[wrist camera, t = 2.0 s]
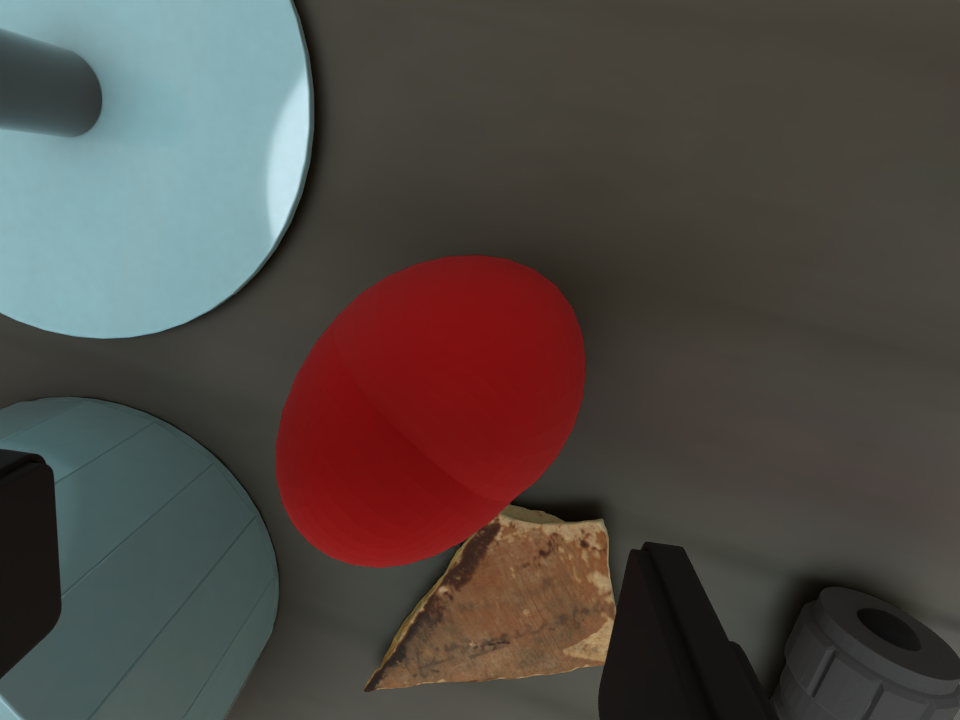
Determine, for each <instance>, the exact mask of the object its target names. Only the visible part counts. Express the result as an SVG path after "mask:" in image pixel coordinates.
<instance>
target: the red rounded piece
mask: <svg viewBox="0 0 960 720" xmlns="http://www.w3.org/2000/svg"><path fill="white" fill-rule="evenodd" d="M585 372H586V359H585V351H584V343H583V336H582V332H581V329H580V327H579V324H578V321H577V319H576V316H575V313H574V311H573V308H572V307H571V305H570V304H569V302H568V301H567V300H566V298H565V297H564V296H563V294H562V293H561V292H560V290H559V289H558V287H557V286H556V285H555V284H553V283H552V282H551V281H549V280H548V279H547V278H545V277H544V276H542V275H541V274H540V273H538V272H537V271H536V270H534V269H532V268H529V267H527V266H524V265H522V264H519V263H517V262H514V261H511V260H509V259H503V258H497V257H490V256H483V255H466V256H448V257H443V258H439V259H435V260H431V261H426V262H422V263H418V264H415V265H413V266H411V267H408V268H406V269H403V270H401V271H399V272H396V273H394V274H392V275H389V276H387V277H386V278H384V279H382V280H381V281H379V282H378V283H376V284H375V285H373V286H372V287H370V288H368V289H367V290H365V291H364V292H362V293H361V294H360V295H359V296H358V297H357V298H356V299H355V300H354V301H352V302H351V303H350V304H349V305H348V306H347V307H346V308H345V309H344V310H343V311H342V312H341V313H340V314H339V315H338V316H337V317H336V319H335V320H334V321H333V322H332V323H331V325H330V326H329V327H328V328H327V329H326V331H325V332H324V333H323V334H322V336H321V337H320V338H319V339H318V340H317V342H316V343H315V345H314V346H313V348H312V350H311V351H310V353H309V355H308V356H307V358H306V360H305V362H304V363H303V365H302V367H301V368H300V370H299V372H298V374H297V375H296V377H295V380H294V383H293V385H292V388H291V390H290V393H289V396H288V398H287V401H286V403H285V406H284V408H283V411H282V416H281V421H280V426H279V431H278V436H277V441H276V478H277V483H278V487H279V491H280V495H281V500H282V504H283V506H284V508H285V510H286V512H287V514H288V515H289V517H290V519H291V521H292V523H293V525H294V526H295V527H296V529H297V530H298V531H299V532H300V533H301V534H302V535H303V536H304V537H305V539H306V540H307V541H308V542H309V543H310V544H311V545H313V546H314V547H316V548H317V549H319V550H320V551H322V552H323V553H325V554H327V555H328V556H330V557H332V558H335V559H338V560H341V561H343V562H346V563H349V564H352V565H359V566H368V567H377V568H380V567H390V566H400V565H407V564H410V563H413V562H416V561H419V560H423V559H426V558H429V557H432V556H435V555H437V554H439V553H441V552H443V551H445V550H447V549H449V548H451V547H453V546H455V545H457V544H459V543H461V542H463V541H464V540H466V539H467V538H468V537H470V536H471V535H473V534H474V533H475V532H477V531H478V530H480V529H481V528H482V527H484V526H485V525H487V524H488V523H489V522H491V521H492V520H493V519H494V518H495V517H496V516H497V515H498V514H499V513H500V512H501V511H502V510H503V509H504V508H505V507H507V506H508V505H509V504H510V503H511V502H512V501H513V500H514V499H515V498H516V497H517V496H518V495H519V494H521V493H522V492H523V491H524V490H526V489H527V488H528V487H530V486H531V485H532V484H533V483H535V482H536V481H537V480H538V479H539V478H540V477H541V475H542V474H543V473H544V472H545V471H546V469H547V468H548V467H549V466H550V465H551V464H552V462H553V461H554V460H555V459H556V457H557V456H558V455H559V453H560V451H561V449H562V447H563V446H564V444H565V442H566V440H567V438H568V437H569V435H570V433H571V431H572V429H573V427H574V424H575V421H576V418H577V415H578V412H579V408H580V405H581V402H582V399H583V393H584V383H585Z"/></svg>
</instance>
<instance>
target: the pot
mask: <svg viewBox="0 0 960 720" xmlns="http://www.w3.org/2000/svg"><path fill="white" fill-rule="evenodd" d="M0 449H7V450H14V451H21V452H28V453H35V454H39V455H40V456H42V457H43V458H44V460H45V461H46V464H47V465H49V466H50V467H51V468H52V470H53V473H54V484H55V500H56V517H57V534H58V550H59V567H60V584H61V600H62V610H61V614H60V617H59V620H58V622H57V624H56V625H55V627H54V628H53V630H52V631H51V632H50V633H49V634H48V635H47V636H46V637H45V638H44V639H43V640H42V641H40V642H39V643H38V644H37V645H36V646H35V647H34V648H33V649H32V650H31V651H30V652H29V653H28V654H27V655H26V656H25V657H23V658H22V659H21V660H20V661H19V662H18V663H17V664H16V665H15V666H14V667H13V668H12V669H11V670H10V671H9V672H8V673H6V674H5V675H4V676H3V677H2V678H1V679H0V720H225V719H226V718H227V716H228V714H229V712H230V711H231V709H232V707H233V705H234V703H235V702H236V700H237V698H238V696H239V695H240V693H241V691H242V689H243V687H244V686H245V684H246V682H247V680H248V678H249V677H250V675H251V673H252V671H253V669H254V667H255V665H256V663H257V661H258V659H259V657H260V655H261V654H262V652H263V650H264V648H265V646H266V644H267V642H268V640H269V638H270V636H271V634H272V630H273V626H274V622H275V619H276V615H277V608H278V600H279V575H278V569H277V563H276V557H275V552H274V549H273V546H272V543H271V539H270V536H269V533H268V531H267V528H266V526H265V524H264V522H263V520H262V518H261V516H260V513H259V511H258V510H257V508H256V506H255V505H254V503H253V502H252V500H251V499H250V497H249V495H248V494H247V492H246V491H245V489H244V488H243V487H242V486H241V484H240V483H239V482H238V481H237V479H236V478H235V477H234V476H233V474H232V473H231V472H230V471H229V470H228V469H227V468H226V467H225V466H224V465H223V464H222V463H221V462H220V461H219V460H218V459H217V458H216V457H215V456H214V455H213V454H212V453H211V452H209V451H208V450H207V449H206V448H204V447H203V446H202V445H200V444H199V443H198V442H197V441H195V440H194V439H193V438H191V437H190V436H188V435H187V434H185V433H183V432H182V431H180V430H179V429H177V428H175V427H174V426H172V425H170V424H169V423H167V422H164V421H162V420H160V419H158V418H156V417H154V416H152V415H150V414H147V413H145V412H142V411H139V410H136V409H134V408H131V407H128V406H125V405H122V404H117V403H113V402H108V401H103V400H99V399H91V398H79V397H53V398H43V399H37V400H32V401H26V402H18V403H15V404H13V405H10V406H8V407H6V408H3V409H1V410H0Z"/></svg>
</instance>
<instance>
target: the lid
mask: <svg viewBox="0 0 960 720" xmlns="http://www.w3.org/2000/svg"><path fill="white" fill-rule="evenodd" d="M313 134H314V89H313V81H312V73H311V65H310V57H309V53H308V49H307V45H306V40H305V36H304V32H303V28H302V24H301V20H300V17H299V15H298V12H297V9H296V7H295V4H294V1H293V0H0V313H2V314H4V315H6V316H8V317H10V318H12V319H14V320H17V321H20V322H22V323H25V324H28V325H31V326H34V327H37V328H40V329H43V330H46V331H51V332H56V333H61V334H65V335H70V336H75V337H87V338H99V339H111V338H131V337H137V336H142V335H147V334H153V333H158V332H161V331H164V330H167V329H170V328H173V327H176V326H179V325H182V324H185V323H187V322H190V321H192V320H194V319H196V318H198V317H200V316H202V315H204V314H206V313H208V312H210V311H212V310H213V309H215V308H217V307H218V306H220V305H221V304H222V303H224V302H225V301H226V300H228V299H229V298H231V297H232V296H233V295H235V294H236V293H238V292H239V291H240V290H241V289H242V288H243V287H244V286H245V285H246V284H247V283H248V282H249V281H250V280H251V279H252V278H253V277H254V276H255V275H256V274H257V273H258V272H259V271H260V270H261V268H262V267H263V266H264V264H265V263H266V262H267V260H268V259H269V258H270V257H271V255H272V254H273V253H274V251H275V250H276V248H277V247H278V245H279V243H280V241H281V240H282V238H283V236H284V234H285V232H286V231H287V229H288V227H289V225H290V224H291V221H292V219H293V216H294V214H295V211H296V209H297V206H298V204H299V201H300V199H301V196H302V193H303V189H304V185H305V181H306V177H307V173H308V169H309V165H310V160H311V151H312V143H313Z"/></svg>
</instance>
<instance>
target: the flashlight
mask: <svg viewBox="0 0 960 720" xmlns="http://www.w3.org/2000/svg"><path fill="white" fill-rule="evenodd" d="M784 653H785V657H786V660H787V661H786V662H787V663H786V665H785V667H784V669H783V671H782V673H781V676H780V683H779V684H778V685H777V686H776V688H775V691H774V695H773V696H772V697H771V698H770V703H771V705H772V707H773V709H774V711H775V713H776V715H777V717H778V719H779V720H953V718H954V716H955V715H956V713H957V711H958V709H959V708H960V685H959V682H960V659H959V657H958V656H957V654H956V653H955V652H954V651H953V649H952V648H951V647H950V646H949V645H948V644H947V643H946V642H945V641H944V640H943V639H941V638H940V637H939V636H938V635H937V634H935V633H934V632H933V631H932V630H930V629H929V628H928V627H927V626H925V625H924V624H922V623H921V622H919V621H918V620H916V619H915V618H913V617H912V616H910V615H908V614H907V613H905V612H903V611H902V610H900V609H898V608H896V607H894V606H892V605H890V604H888V603H886V602H884V601H882V600H880V599H878V598H876V597H873V596H871V595H868V594H865V593H862V592H859V591H856V590H852V589H848V588H843V587H828V588H825V589H823V590H822V591H821V593H820V595H819V597H818V599H817V600H814V601H811V603H806V604H805V605H804V607H803V609H802V611H801V613H800V615H799V617H798V619H797V621H796V623H795V625H794V628H793V630H792V632H791V634H790V636H789V638H788V640H787V642H786V644H785V648H784Z"/></svg>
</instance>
